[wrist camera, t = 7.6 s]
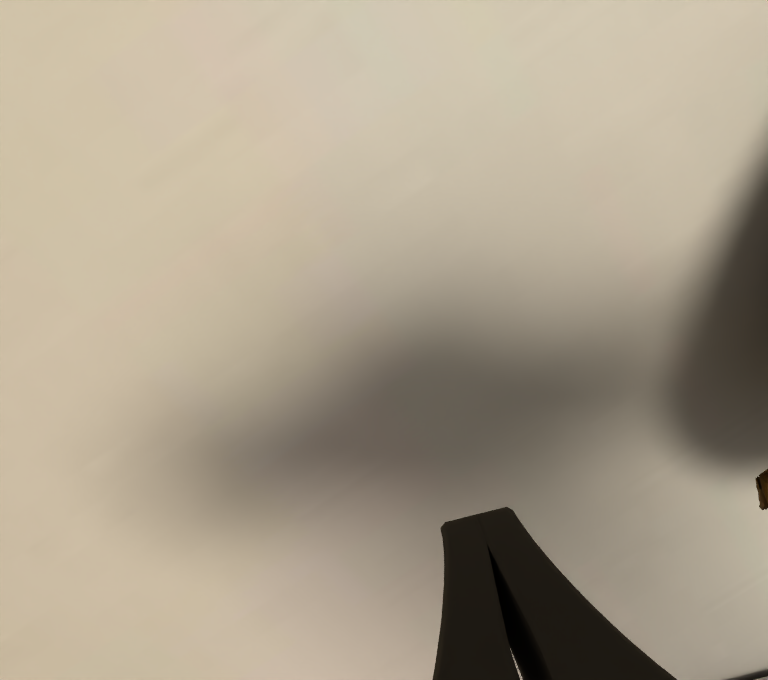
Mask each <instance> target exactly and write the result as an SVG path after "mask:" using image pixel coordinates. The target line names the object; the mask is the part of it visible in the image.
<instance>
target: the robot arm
mask: <svg viewBox="0 0 768 680" xmlns="http://www.w3.org/2000/svg"><path fill="white" fill-rule="evenodd" d="M441 533H442V538H443V547H444V592H443V606H442V619H441V628H440V635H439V642H438V649H437V656H436V663H435V669H434V675H433V680H520V678H519V675H518V672H517V669H516V666H515V663H514V660H513V657H512V653H513V656H514V658H515V661H516V663H517V666H518V668H519V671H520V673H521V675H522V678H523V680H677V679H676V678H674V677H673V676H672V675H671V674H669V673H668V672H667V671H666V670H664V669H663V668H662V667H661V666H659V665H658V664H657V663H656V662H654V661H653V660H652V659H651V658H650V657H649V656H647V655H646V654H645V653H644V652H643V651H641V650H640V649H639V648H638V647H637V646H636V645H634V644H633V643H632V642H631V641H630V640H629V639H628V638H627V637H625V636H624V635H623V634H622V633H621V632H620V631H619V630H618V629H617V628H616V627H614V626H613V625H612V624H611V623H610V622H609V621H608V620H607V619H606V618H605V617H604V616H603V615H602V614H601V613H600V612H599V611H598V610H597V609H596V608H595V607H594V606H593V605H592V604H591V603H590V602H589V601H588V600H587V599H586V598H585V597H584V596H583V595H582V594H581V593H580V592H579V591H578V590H577V589H576V588H575V587H574V586H573V585H572V584H571V582H570V581H569V580H568V579H567V578H566V577H565V576H564V575H563V574H562V573H561V572H560V571H559V569H558V568H557V567H556V566H555V565H554V564H553V563H552V562H551V560H550V559H549V558H548V557H547V556H546V554H545V553H544V552H543V551H542V550H541V548H540V547H539V546H538V545H537V543H536V542H535V541H534V540H533V538H532V537H531V536H530V534H529V533H528V532H527V530H526V529H525V528H524V526H523V525H522V523H521V522H520V521H519V519H518V518H517V516H516V515H515V513H514V511H513V510H512V509H510V508H508V507H504V508H500V509H496V510H492V511H488V512H484V513H480V514H476V515H472V516H468V517H464V518H460V519H456V520H452V521H448V522H445V523H444V525H443V526H442V527H441ZM510 648H511V650H510ZM511 651H512V653H511ZM755 680H768V676H767V677H763V678H759V679H755Z"/></svg>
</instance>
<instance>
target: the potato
mask: <svg viewBox="0 0 768 680" xmlns="http://www.w3.org/2000/svg"><path fill="white" fill-rule="evenodd" d="M756 484H757V485H756V487H757V490H758V495H759V501H760V505H759V507H760V508H761V509H762V510H764V509H767V508H768V469H767V470H765V471H764V472H763V473H761V474H760V475H759V477H758V476H757V478H756Z"/></svg>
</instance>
